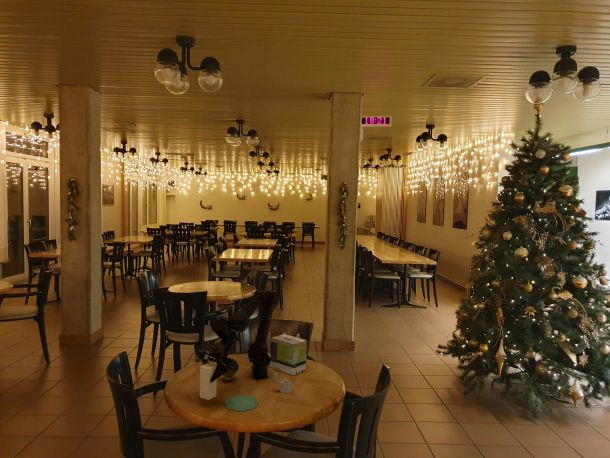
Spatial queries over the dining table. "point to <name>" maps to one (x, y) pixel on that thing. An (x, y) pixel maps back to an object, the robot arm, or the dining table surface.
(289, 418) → the dining table surface
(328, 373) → the dining table surface
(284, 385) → the lighter
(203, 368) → the cream block
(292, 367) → the tea box
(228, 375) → the dark grey rounded piece
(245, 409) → the green mat
